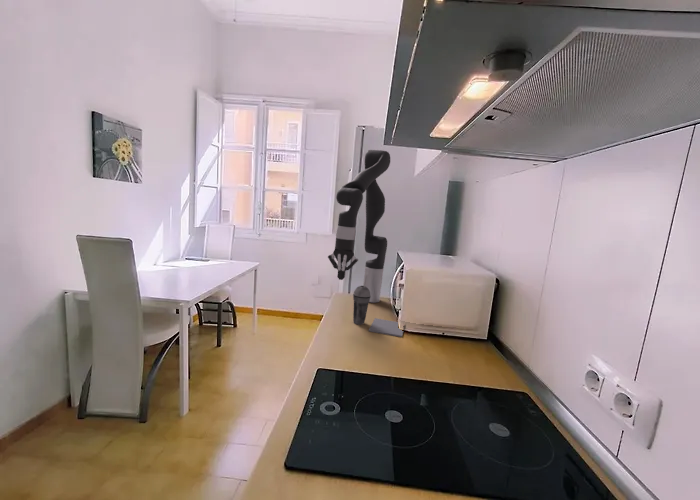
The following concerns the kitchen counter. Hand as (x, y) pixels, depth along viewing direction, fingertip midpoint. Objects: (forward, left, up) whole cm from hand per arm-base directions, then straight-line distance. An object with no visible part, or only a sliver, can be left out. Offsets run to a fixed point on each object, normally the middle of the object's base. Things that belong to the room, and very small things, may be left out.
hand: (340, 279), depth 151 cm
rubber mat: (0, +22, -17) cm, 27 cm away
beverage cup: (0, +10, -17) cm, 20 cm away
